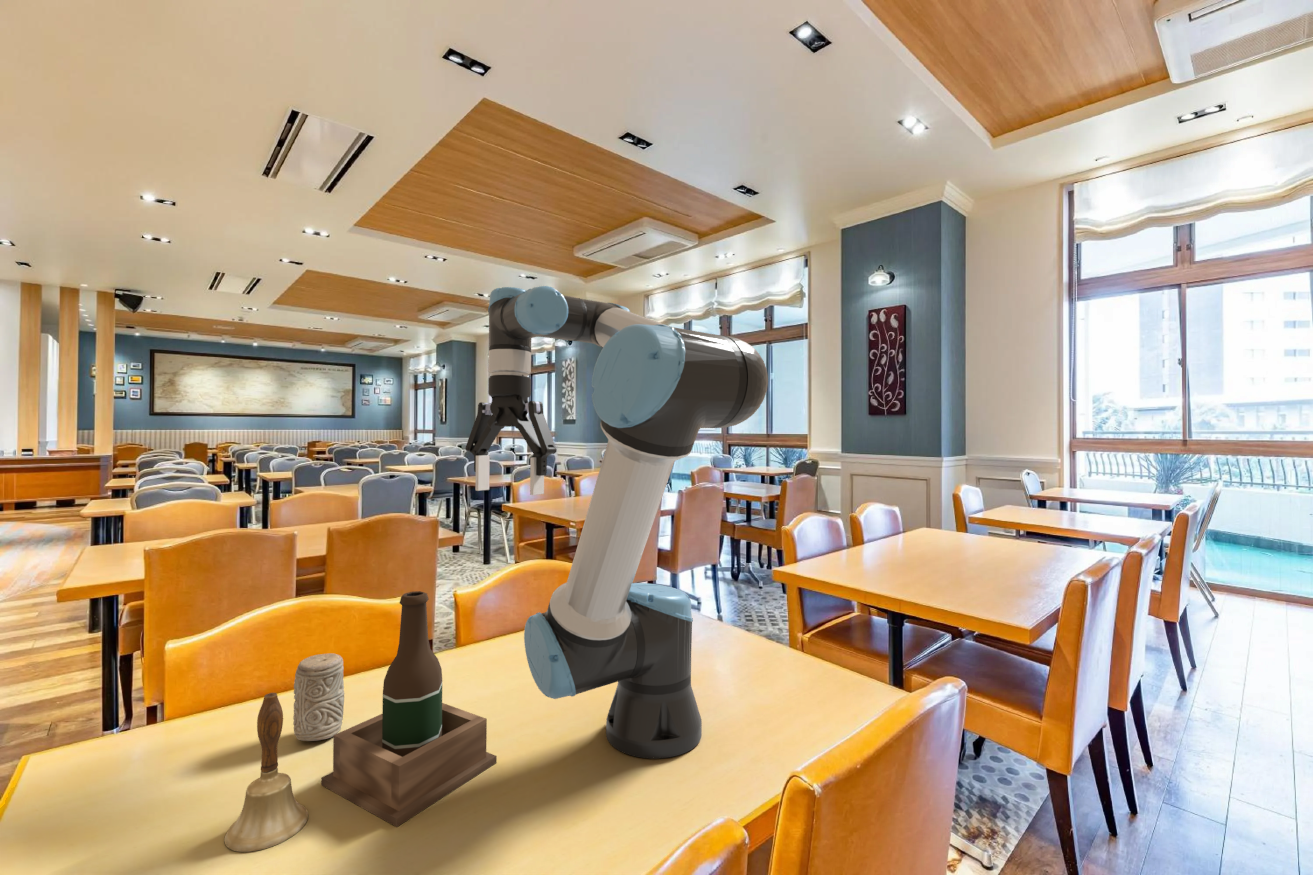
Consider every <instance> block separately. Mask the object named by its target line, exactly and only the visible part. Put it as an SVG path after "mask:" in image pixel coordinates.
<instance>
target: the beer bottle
mask: <svg viewBox="0 0 1313 875" xmlns="http://www.w3.org/2000/svg"><path fill="white" fill-rule="evenodd" d="M428 601H429V596H428V593H427V592H424V591H418V590H417V591H409V592H406V593H403V594H402V596H401V597H400V600H399V604H400V605H401V610H400V611H401V613H400V623H399V624H400V628H399V639H398V640H399V641H398V647H397V651H396V652H397V653H396V656H395V657H394V658H393V660H392V662H391V664H390V665H389V667H388V668H387V671H386V674H385V676H384V679H383V686H382V688H383V689H382V710H381V712H382V713H381V714H382V748H384V749H386V750H388V751H390V752H393V753H395V754H397V755H399V756H401V757H403V756H405V755H407V754H409V753H411V752H413V751H415V750H417V749H418V748H420V747H422V746H424V745H426V744H428V743H430V742H432V741H433V740H435V739H437V738H439V737H441V736H442V703H443V671H442V669H443V668H442V666H441V664H440V661H439V658H438V657H437V656H436V654H435V653H434V652H433V650H432V649H431V644H430V639H429V629H428V628H429V627H428V626H429V625H428V614H427V613H428V611H427V608H428V606H427V603H428Z"/></svg>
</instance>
